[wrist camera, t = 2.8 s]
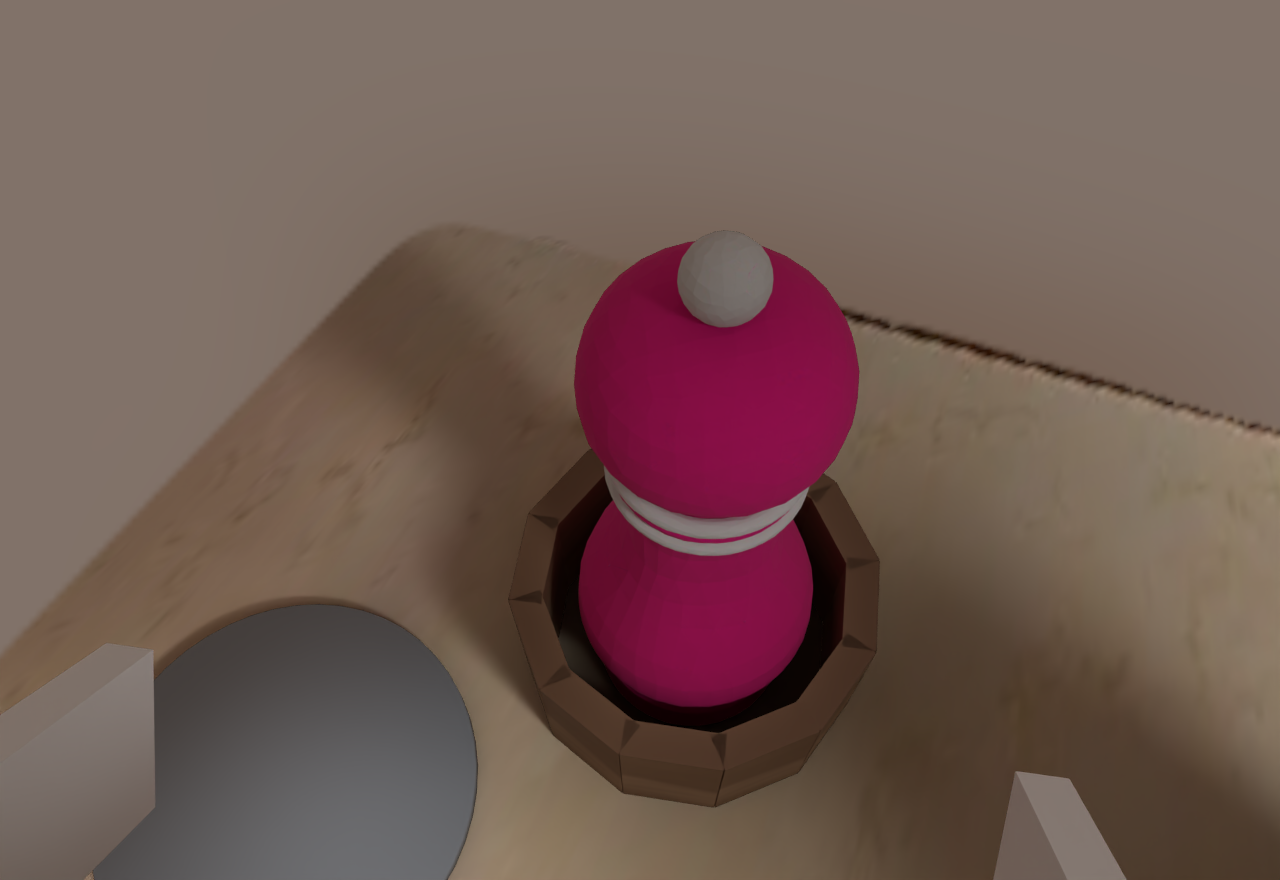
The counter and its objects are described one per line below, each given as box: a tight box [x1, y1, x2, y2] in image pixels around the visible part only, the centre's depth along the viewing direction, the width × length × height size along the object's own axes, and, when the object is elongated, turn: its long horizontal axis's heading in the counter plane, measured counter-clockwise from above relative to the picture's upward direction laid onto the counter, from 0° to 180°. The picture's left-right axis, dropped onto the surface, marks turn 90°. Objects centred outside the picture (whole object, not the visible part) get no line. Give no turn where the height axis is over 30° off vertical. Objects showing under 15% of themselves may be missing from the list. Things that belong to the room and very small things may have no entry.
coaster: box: [93, 604, 478, 880], centre depth 33 cm, size 12×12×1 cm
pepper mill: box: [574, 231, 859, 726], centre depth 27 cm, size 7×7×20 cm
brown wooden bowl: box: [508, 449, 880, 807], centre depth 33 cm, size 11×11×5 cm
